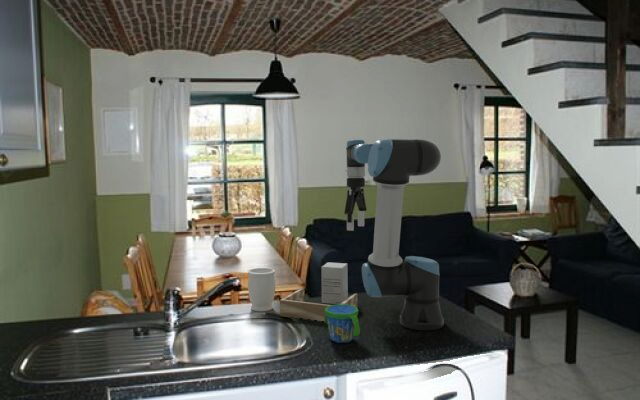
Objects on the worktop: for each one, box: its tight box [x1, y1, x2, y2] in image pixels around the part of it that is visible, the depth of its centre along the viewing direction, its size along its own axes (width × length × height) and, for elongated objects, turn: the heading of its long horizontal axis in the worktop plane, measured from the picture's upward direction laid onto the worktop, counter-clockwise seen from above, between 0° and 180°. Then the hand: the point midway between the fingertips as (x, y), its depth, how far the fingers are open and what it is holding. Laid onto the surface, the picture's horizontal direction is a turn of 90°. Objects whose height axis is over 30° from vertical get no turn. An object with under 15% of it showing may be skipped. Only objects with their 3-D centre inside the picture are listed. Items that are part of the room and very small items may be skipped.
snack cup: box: [324, 304, 361, 344], centre depth 165 cm, size 16×10×10 cm
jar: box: [247, 267, 276, 312], centre depth 199 cm, size 11×10×15 cm
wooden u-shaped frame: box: [279, 287, 358, 323], centre depth 194 cm, size 19×24×6 cm
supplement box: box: [320, 262, 349, 305], centre depth 208 cm, size 9×9×15 cm
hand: (355, 228), depth 215 cm, fingers open, 13 cm apart
